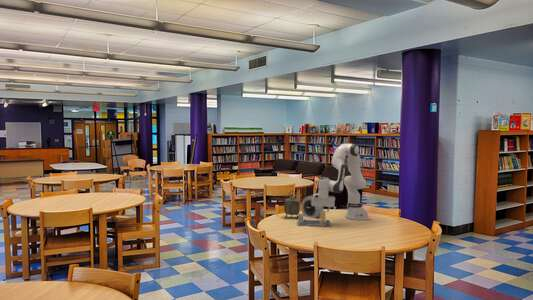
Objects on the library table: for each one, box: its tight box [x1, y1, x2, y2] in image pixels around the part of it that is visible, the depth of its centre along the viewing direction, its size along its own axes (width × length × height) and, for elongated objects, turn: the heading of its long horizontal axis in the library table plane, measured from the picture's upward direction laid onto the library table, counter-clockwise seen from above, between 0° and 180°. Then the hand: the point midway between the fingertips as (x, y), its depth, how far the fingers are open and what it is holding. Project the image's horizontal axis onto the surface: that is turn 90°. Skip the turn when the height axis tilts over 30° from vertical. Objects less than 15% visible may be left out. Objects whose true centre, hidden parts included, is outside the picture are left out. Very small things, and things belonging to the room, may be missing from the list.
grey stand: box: [304, 210, 328, 222], centre depth 336 cm, size 18×11×10 cm, turn 86°
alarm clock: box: [300, 194, 324, 219], centre depth 368 cm, size 21×8×20 cm, turn 43°
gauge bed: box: [297, 213, 332, 228], centre depth 338 cm, size 28×16×7 cm, turn 86°
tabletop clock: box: [283, 190, 301, 219], centre depth 359 cm, size 14×9×25 cm, turn 84°
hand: (322, 211), depth 337 cm, fingers open, 8 cm apart
